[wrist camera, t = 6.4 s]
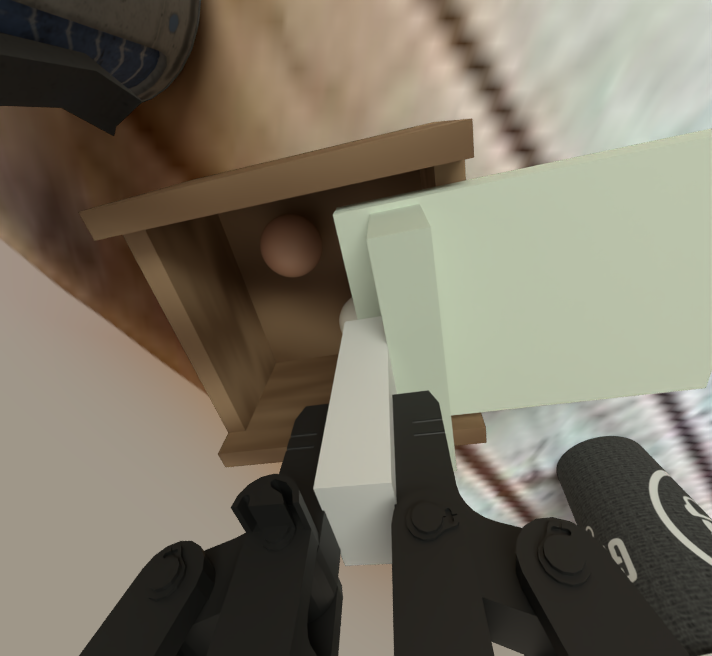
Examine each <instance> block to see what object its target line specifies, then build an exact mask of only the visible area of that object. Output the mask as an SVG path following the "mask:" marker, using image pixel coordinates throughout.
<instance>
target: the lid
mask: <svg viewBox="0 0 712 656" xmlns="http://www.w3.org/2000/svg"><path fill="white" fill-rule="evenodd" d="M333 218H334V222H335V226H336V230H337V235H338V239H339V243H340V247H341V252H342V256H343V260H344V264H345V268H346V273H347V277H348V281H349V285H350V290H351V294H352V298H353V302H354V306H355V311H356V315H357V319H358V320H359V319H366V318H372V317H378V316H382V320H383V326H384V331H385V336H386V341H387V345H388V350H389V355H390V360H391V365H392V370H393V375H394V380H395V385H396V390H397V394H402V393H410V392H419V391H427V390H429V391H430V393H431V394H432V395H433V396H434V397H435V398H436V399H437V401H438V402H439V405H440V409H441V414H442V420H443V424H444V429H445V434H446V438H447V443H448V448H449V453H450V457H451V462H452V467H453V471H457V467H456V458H455V449H454V439H453V430H452V421H451V415H461V414H470V413H479V412H488V411H498V410H507V409H516V408H526V407H535V406H544V405H553V404H563V403H572V402H581V401H590V400H600V399H609V398H618V397H627V396H637V395H646V394H655V393H665V392H674V391H683V390H692V389H702V388H706V386H707V383H708V380H709V377H710V374H711V371H712V129H707V130H703V131H698V132H693V133H688V134H684V135H679V136H674V137H669V138H665V139H660V140H655V141H650V142H646V143H641V144H636V145H631V146H627V147H622V148H617V149H612V150H608V151H603V152H598V153H593V154H589V155H584V156H579V157H574V158H570V159H565V160H560V161H555V162H551V163H546V164H541V165H536V166H532V167H527V168H522V169H517V170H513V171H508V172H503V173H498V174H494V175H489V176H484V177H479V178H475V179H470V180H465V181H460V182H456V183H451V184H446V185H441V186H437V187H432V188H427V189H422V190H418V191H413V192H408V193H403V194H399V195H394V196H389V197H384V198H380V199H375V200H370V201H365V202H361V203H356V204H351V205H346V206H342V207H337V208H336V210H335V212H334V214H333Z"/></svg>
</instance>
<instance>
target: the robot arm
mask: <svg viewBox="0 0 712 656" xmlns="http://www.w3.org/2000/svg"><path fill="white" fill-rule="evenodd" d="M231 509H232V510H233V512H234V514H235V515H236V517H237V518H238V520H239V522H240V523H241V525H242V527H243V528H244V530H245V531H246V533H244V534H243V535H241V536H239V537H237V538H235V539H232V540H230V541H227V542H225V543H222V544H220V545H217V546H215V547H212V548H210V549H207V550H205V551H204V550H203V549H202V548H201V546H199V545H198V544H196V543H194V542H193V541H180V542H177V543H175V544H172V545H170V546H167V547H166V548H165V549H163V550H162V551H160V552H159V553H158V554H156V555H155V556H154V557H153V558H152V559H151V560H150V561H149V562H148V563H147V565H146V566H145V567H144V568H143V569H142V571H141V572H140V573H139V574H138V576H137V577H136V579H135V580H134V581H133V583H132V584H131V585H130V587H129V588H128V589H127V591H126V592H125V594H124V595H123V596H122V598H121V599H120V600H119V602H118V603H117V604H116V606H115V607H114V609H113V610H112V611H111V613H110V614H109V615H108V617H107V618H106V620H105V621H104V622H103V624H102V625H101V627H100V628H99V629H98V631H97V632H96V633H95V635H94V636H93V637H92V639H91V640H90V642H89V643H88V644H87V646H86V647H85V648H84V650H83V651H82V652H81V654H80V655H79V656H338V650H339V638H340V626H341V614H342V600H343V594H342V585H341V582H340V580H339V578H338V573H339V563H340V554H341V557H342V559H343V561H344V564H345V566H352V565H376V564H392V581H393V627H394V656H494V652H493V647H492V643H491V642H494V643H496V644H499V645H501V646H504V647H506V648H509V649H512V650H514V651H516V652H519V653H521V654H524V656H690V655H689V654H688V653H687V651H686V650H685V649H684V647H683V646H682V645H681V644H680V642H679V641H678V640H677V639H676V637H675V636H674V635H673V634H672V632H671V631H670V630H669V629H668V627H667V626H666V625H665V624H664V622H663V621H662V620H661V618H660V617H659V616H658V615H657V613H656V612H655V611H654V610H653V608H652V607H651V606H650V605H649V603H648V602H647V601H646V600H645V598H644V597H643V596H642V595H641V593H640V592H639V591H638V589H637V588H636V587H635V586H634V584H633V583H632V582H631V581H630V579H629V578H628V577H627V576H626V574H625V573H624V572H623V571H622V569H621V568H620V567H619V566H618V564H617V563H616V562H615V560H614V559H613V558H612V557H611V555H610V554H609V553H608V552H607V550H606V549H605V548H604V547H603V546H602V545H601V544H600V543H599V542H598V541H597V540H596V539H595V538H594V537H593V536H592V535H591V534H590V533H589V532H588V531H586V530H584V529H583V528H581V527H579V526H577V525H575V524H574V523H572V522H570V521H566V520H561V519H557V518H553V517H550V518H540V519H535V520H533V521H532V522H530V523H528V524H527V525H525V526H524V527H523V528H520V527H516V526H512V525H508V524H504V523H500V522H496V521H493V520H491V519H488V518H485V517H483V516H481V515H480V514H478V513H477V512H475V511H473V510H472V509H471V508H470V507H469V506H468V505H467V504H466V503H465V501H464V500H463V498H462V497H461V495H460V494H459V491H458V488H457V486H456V481H455V476H454V472H453V467H452V462H451V457H450V453H449V448H448V443H447V438H446V434H445V429H444V424H443V420H442V414H441V409H440V405H439V402H438V401H437V399H436V398H435V397H434V396H433V395H432V394H431V393H430V391H429V390H427V391H419V392H410V393H402V394H397V390H396V385H395V380H394V375H393V370H392V365H391V360H390V355H389V350H388V345H387V341H386V336H385V331H384V326H383V320H382V316H378V317H372V318H366V319H359V320H353V321H346V322H345V324H344V329H343V334H342V340H341V345H340V350H339V355H338V361H337V366H336V371H335V377H334V382H333V387H332V392H331V398H330V403H328V404H320V405H312V406H305V408H304V409H303V410H302V412H301V413H300V414H299V416H298V417H297V418H296V419H295V422H294V425H293V429H292V432H291V438H290V439H289V442H288V445H287V451H286V452H285V456H284V459H283V463H282V466H281V469H280V472H279V474H272V475H267V476H264V477H261V478H259V479H257V480H255V481H254V482H252V483H250V484H249V485H248V486H247V487H246V488H245V489H244V490H243V491H242V492H241V493H240V494H239V495H238V496H237V498H236V499H235V501H234V503H233V505H232V506H231Z"/></svg>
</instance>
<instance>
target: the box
mask: <svg viewBox="0 0 712 656" xmlns="http://www.w3.org/2000/svg"><path fill="white" fill-rule="evenodd" d="M473 157H474V146H473V123H472V119H463V120H452V121H441V122H432V123H428V124H424V125H420V126H416V127H412V128H407V129H403V130H399V131H395V132H391V133H387V134H382V135H378V136H374V137H370V138H366V139H361V140H357V141H353V142H349V143H345V144H341V145H336V146H332V147H328V148H324V149H320V150H316V151H311V152H307V153H303V154H299V155H295V156H290V157H286V158H282V159H278V160H274V161H270V162H265V163H261V164H257V165H253V166H249V167H245V168H240V169H236V170H232V171H228V172H224V173H219V174H215V175H211V176H207V177H203V178H199V179H194V180H191V181H187V182H184V183H180V184H176V185H173V186H169V187H166V188H162V189H159V190H155V191H151V192H148V193H144V194H141V195H137V196H134V197H130V198H126V199H123V200H119V201H116V202H112V203H109V204H105V205H101V206H98V207H94V208H91V209H87V210H84V211H80V212H78V213H79V215H80V216H81V218H82V220H83V222H84V223H85V225H86V227H87V228H88V230H89V232H90V234H91V235H92V237H93V239H94V241H96V240H100V239H105V238H109V237H114V236H119V235H123V237H124V238H125V240H126V242H127V244H128V246H129V248H130V250H131V252H132V253H133V255H134V257H135V259H136V261H137V263H138V265H139V267H140V268H141V270H142V272H143V274H144V276H145V278H146V280H147V282H148V283H149V285H150V287H151V289H152V291H153V293H154V295H155V296H156V298H157V300H158V302H159V304H160V306H161V308H162V310H163V311H164V313H165V315H166V317H167V319H168V321H169V323H170V325H171V326H172V328H173V330H174V332H175V334H176V336H177V338H178V339H179V341H180V343H181V345H182V347H183V349H184V351H185V353H186V354H187V356H188V358H189V360H190V362H191V364H192V366H193V368H194V369H195V371H196V373H197V375H198V377H199V379H200V381H201V383H202V384H203V386H204V388H205V390H206V392H207V394H208V396H209V397H210V399H211V401H212V403H213V405H214V407H215V409H216V410H217V412H218V414H219V416H220V418H221V420H222V422H223V424H224V425H225V427H226V429H227V431H228V435H227V437H226V439H225V441H224V443H223V445H222V447H221V449H220V451H219V453H218V455H219V457H220V458H221V460H222V462H223V464H224V465H225V467H234V466H244V465H255V464H265V463H276V462H283V459H284V456H285V452H286V451H287V445H288V442H289V439H290V438H291V432H292V429H293V425H294V422H295V419H296V418H297V417H298V416H299V414H300V413H301V412H302V410H303V409H304V408H305V406H312V405H320V404H328V403H330V398H331V392H332V387H333V382H334V377H335V371H336V366H337V361H338V355H339V350H340V345H341V340H342V332H341V329H340V325H339V317H340V312H341V310H342V307H343V306H344V304H345V303H346V302H347V301H348V300H349V299H350V298H352V294H351V290H350V285H349V281H348V277H347V273H346V268H345V264H344V260H343V256H342V252H341V247H340V243H339V239H338V235H337V230H336V226H335V222H334V218H333V214H334V212H335V210H336V208H337V207H342V206H346V205H351V204H356V203H361V202H365V201H370V200H375V199H380V198H384V197H389V196H394V195H399V194H403V193H408V192H413V191H418V190H422V189H427V188H432V187H437V186H441V185H446V184H451V183H456V182H460V181H465V180H466V176H465V159H469V158H473ZM284 214H296V215H300V216H302V217H305V218H306V219H308V220H309V221H311V222H312V223H313V224H314V225H315V226H316V228H317V229H318V231H319V233H320V235H321V238H322V243H323V251H322V256H321V259H320V261H319V263H318V264H317V266H316V267H315V268H314V269H313V270H312V271H311V272H309V273H307V274H306V275H303V276H300V277H285V276H282V275H279V274H278V273H276V272H274V271H273V270H272V269H271V268H270V267H269V266H268V265H267V264H266V263H265V261H264V259H263V257H262V254H261V250H260V238H261V235H262V232H263V230H264V228H265V227H266V225H267V224H268V223H269V222H270V221H271V220H273V219H274V218H276V217H278V216H280V215H284ZM451 421H452V430H453V439H454V446H456V445H467V444H477V443H486V426H485V423H484V420H483V417H482V415H481V412H479V413H470V414H461V415H451Z"/></svg>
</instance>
